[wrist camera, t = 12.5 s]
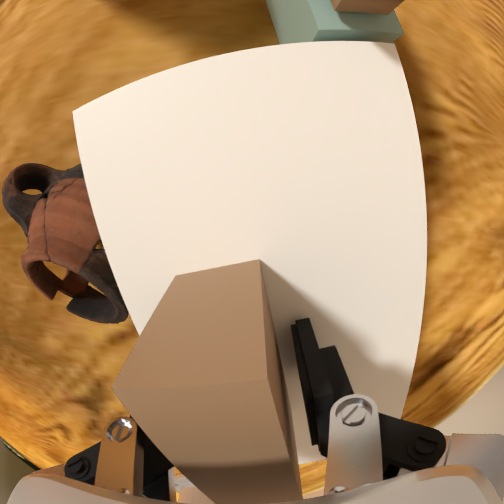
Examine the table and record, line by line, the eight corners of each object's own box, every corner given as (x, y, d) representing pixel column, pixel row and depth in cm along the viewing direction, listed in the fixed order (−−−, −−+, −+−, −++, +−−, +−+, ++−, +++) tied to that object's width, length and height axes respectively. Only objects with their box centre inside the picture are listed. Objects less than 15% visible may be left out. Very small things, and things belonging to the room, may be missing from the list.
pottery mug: (204, 187, 17) (166, 301, 12) (149, 256, 23) (119, 343, 17) (55, 99, 12) (-37, 178, 6) (38, 192, 18) (-14, 267, 12)
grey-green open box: (371, 366, 21) (403, 433, 14) (229, 395, 22) (223, 469, 15) (298, -41, 10) (316, -105, 3) (128, -6, 11) (81, -56, 4)
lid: (384, 417, 16) (416, 499, 8) (224, 447, 16) (218, 535, 9) (372, 59, 9) (489, -14, 1) (100, 117, 10) (-44, 100, 2)
